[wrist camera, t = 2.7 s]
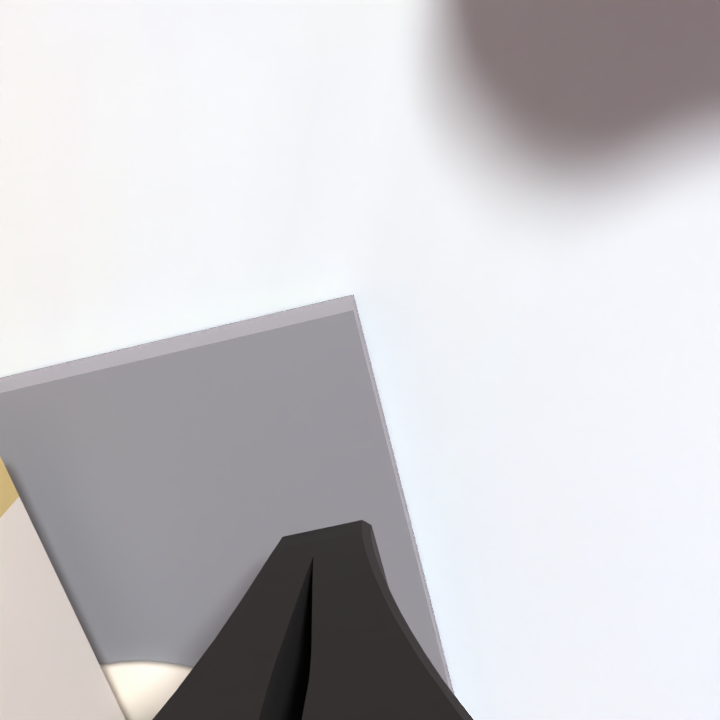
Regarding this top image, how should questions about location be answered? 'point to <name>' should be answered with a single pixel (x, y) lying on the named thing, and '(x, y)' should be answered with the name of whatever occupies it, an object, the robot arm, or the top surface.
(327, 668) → the robot arm
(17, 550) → the peg dial
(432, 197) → the top surface
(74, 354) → the top surface
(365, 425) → the board
